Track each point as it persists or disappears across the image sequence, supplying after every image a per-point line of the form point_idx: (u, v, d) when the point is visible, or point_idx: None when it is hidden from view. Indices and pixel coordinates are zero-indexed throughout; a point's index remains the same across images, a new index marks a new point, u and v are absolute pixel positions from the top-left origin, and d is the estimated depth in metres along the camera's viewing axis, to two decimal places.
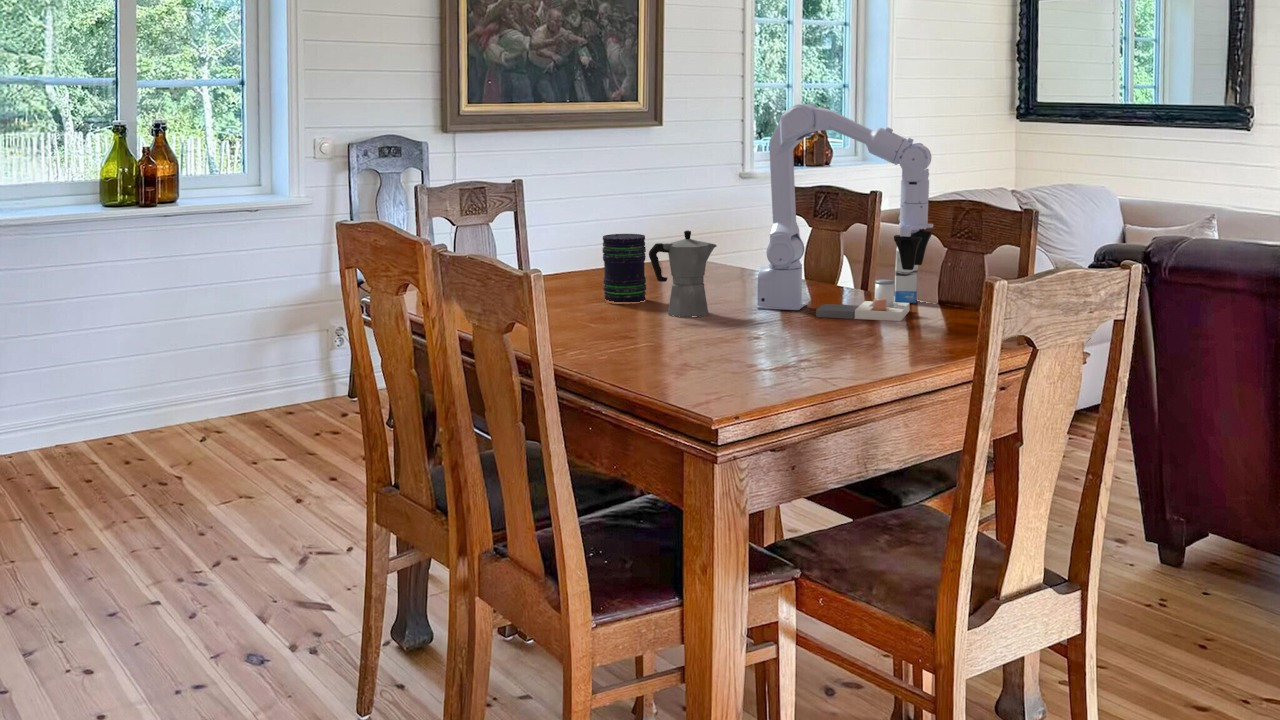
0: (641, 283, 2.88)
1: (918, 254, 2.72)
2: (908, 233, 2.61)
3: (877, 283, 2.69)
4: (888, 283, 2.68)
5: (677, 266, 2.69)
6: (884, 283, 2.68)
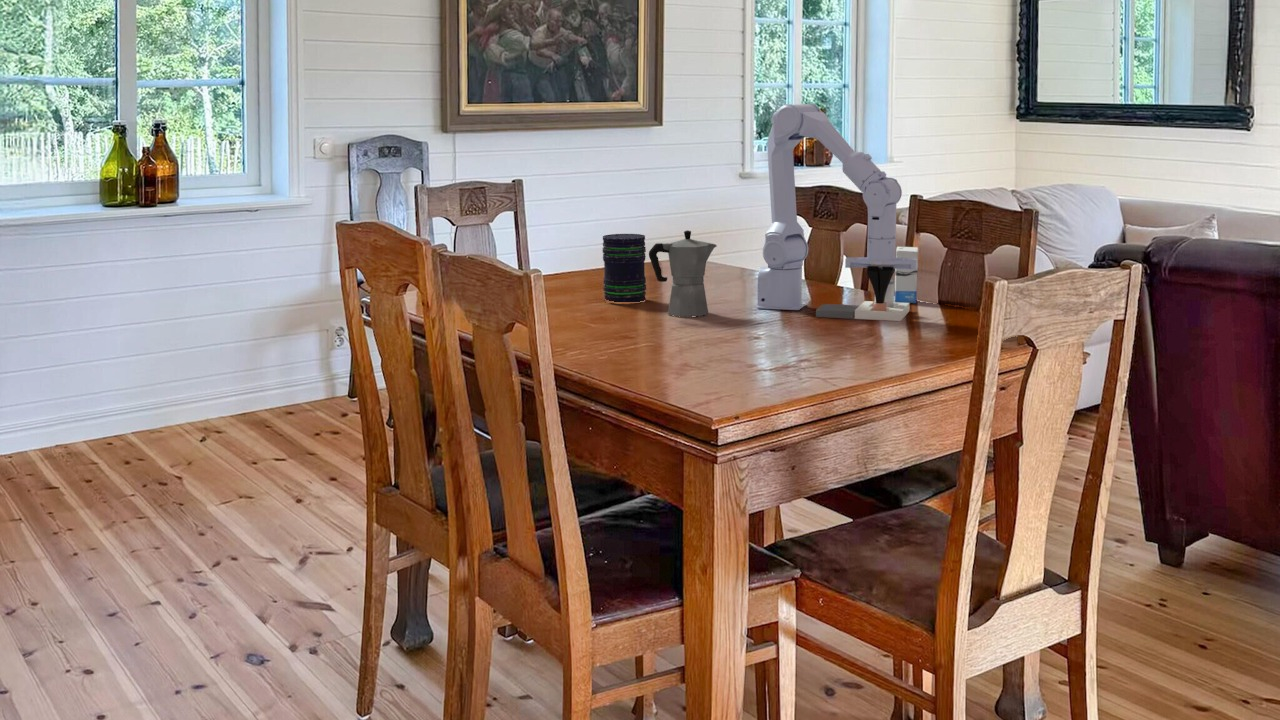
0: (641, 283, 2.88)
1: None
2: None
3: None
4: None
5: (677, 266, 2.69)
6: None
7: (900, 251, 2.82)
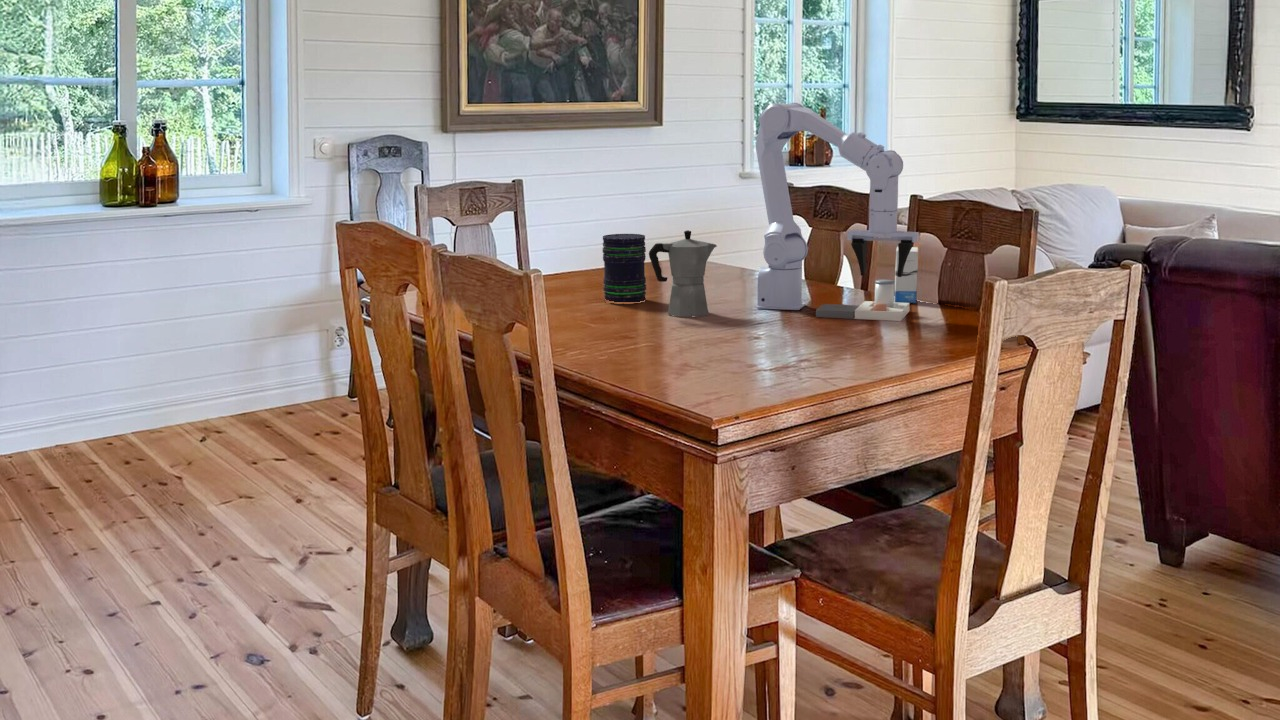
0: (641, 283, 2.88)
1: None
2: (847, 237, 2.66)
3: (877, 283, 2.69)
4: (888, 283, 2.68)
5: (677, 266, 2.69)
6: (884, 283, 2.68)
7: None
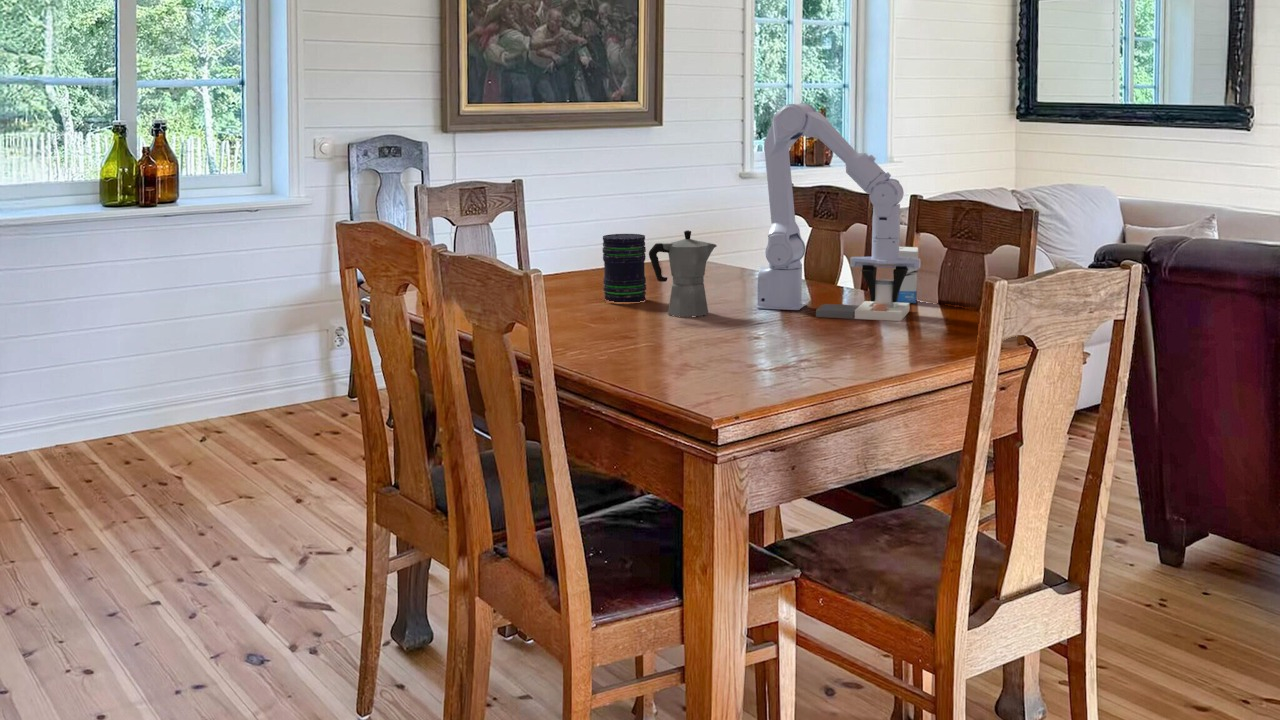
0: (641, 283, 2.88)
1: None
2: (850, 263, 2.71)
3: (877, 283, 2.69)
4: (888, 283, 2.68)
5: (677, 266, 2.69)
6: (884, 283, 2.68)
7: (900, 251, 2.82)
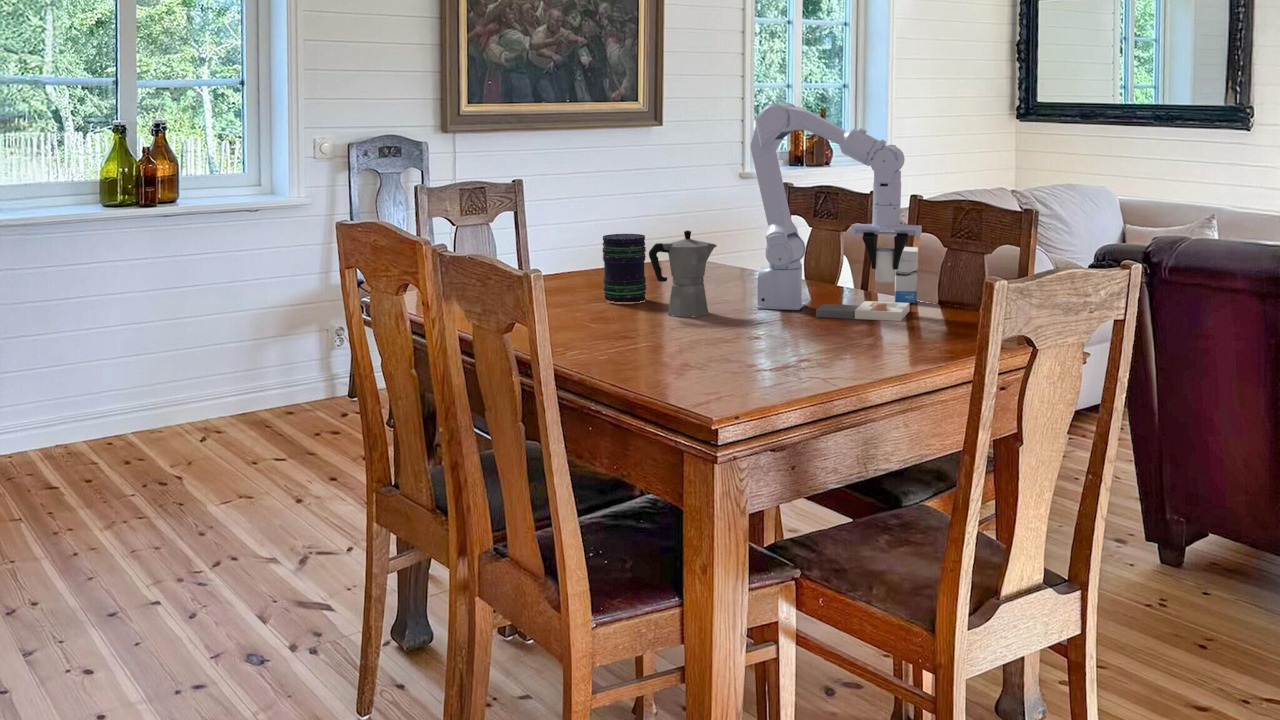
0: (641, 283, 2.88)
1: None
2: (851, 230, 2.70)
3: (878, 250, 2.68)
4: (889, 250, 2.67)
5: (677, 266, 2.69)
6: (885, 250, 2.67)
7: None
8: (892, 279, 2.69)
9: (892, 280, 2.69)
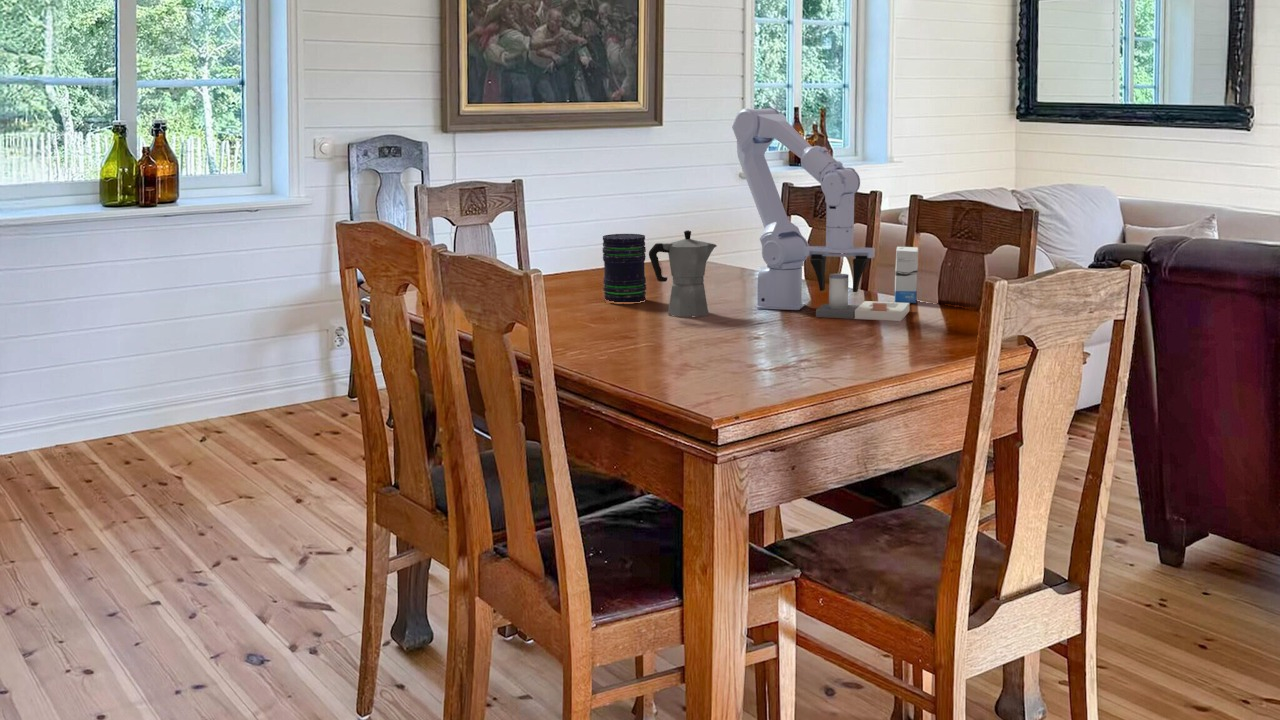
0: (641, 283, 2.88)
1: None
2: None
3: (831, 277, 2.68)
4: (842, 277, 2.67)
5: (677, 266, 2.69)
6: (837, 277, 2.67)
7: (900, 251, 2.82)
8: (845, 306, 2.69)
9: (845, 307, 2.69)
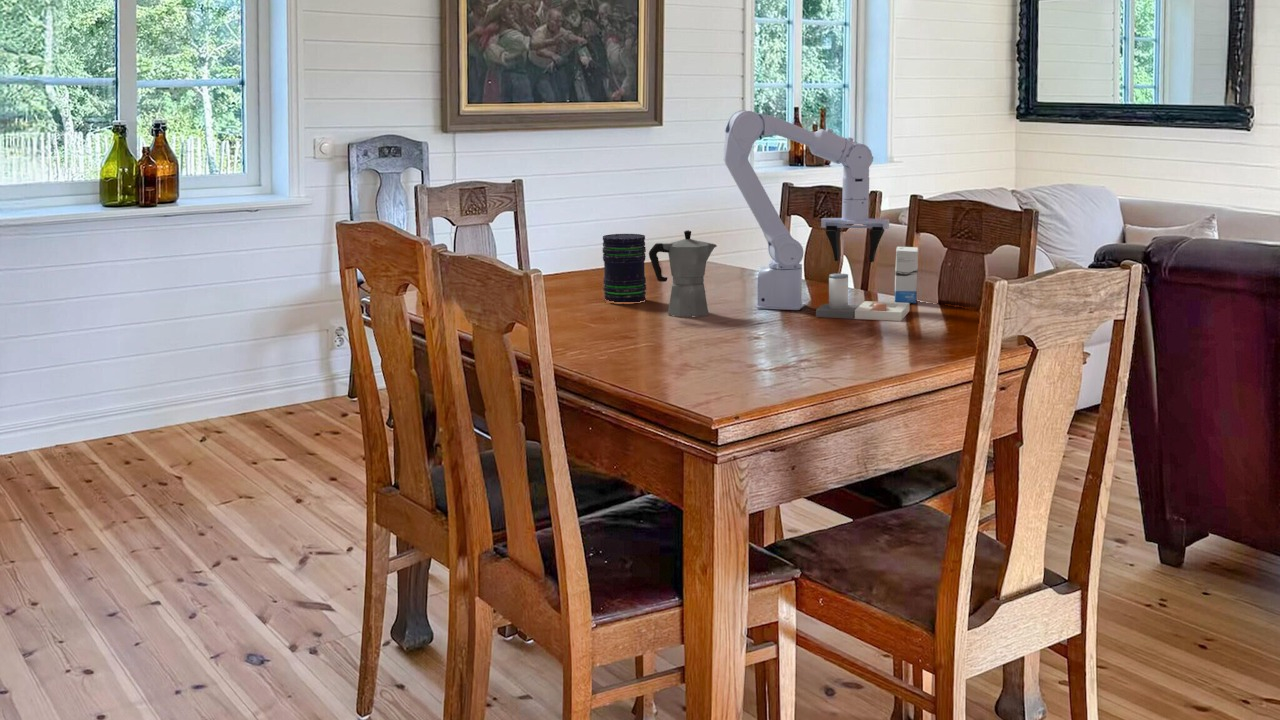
0: (641, 283, 2.88)
1: None
2: None
3: (830, 277, 2.68)
4: (841, 277, 2.67)
5: (677, 266, 2.69)
6: (837, 277, 2.67)
7: (900, 251, 2.82)
8: (845, 306, 2.69)
9: (845, 307, 2.69)
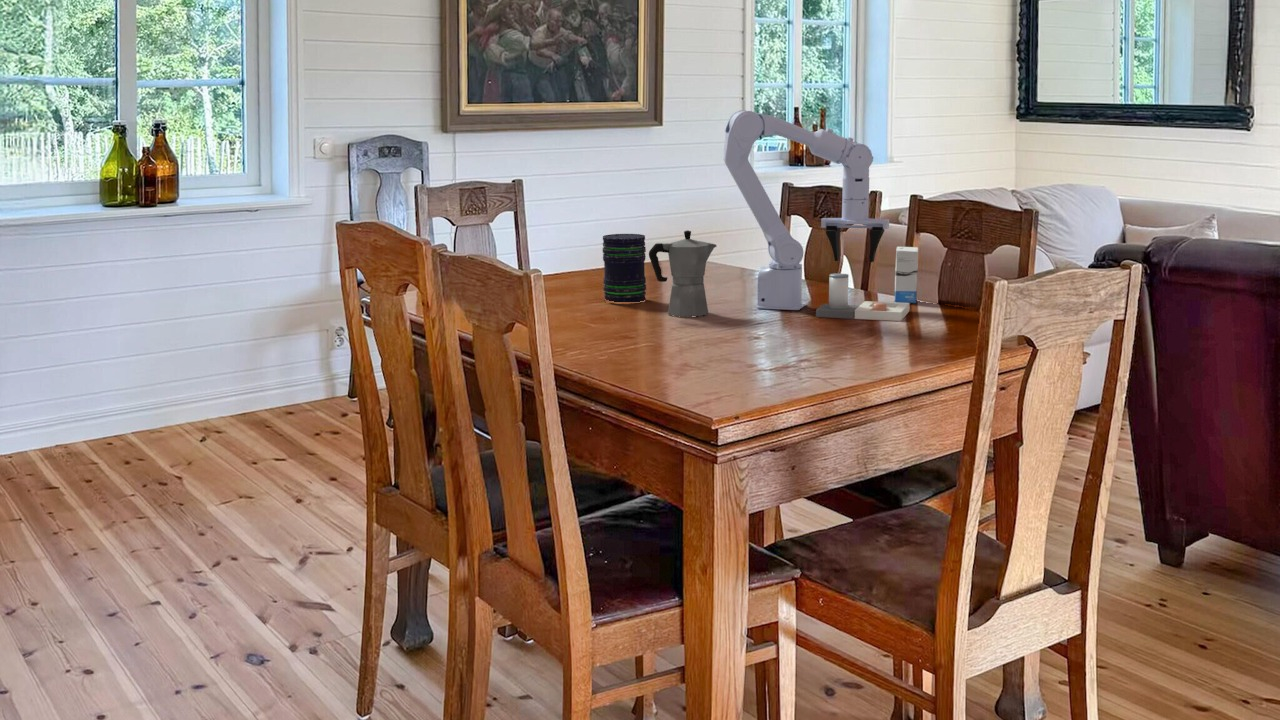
0: (641, 283, 2.88)
1: None
2: None
3: (831, 277, 2.69)
4: (841, 277, 2.67)
5: (677, 266, 2.69)
6: (837, 277, 2.68)
7: (900, 251, 2.82)
8: (845, 306, 2.69)
9: (845, 307, 2.69)
